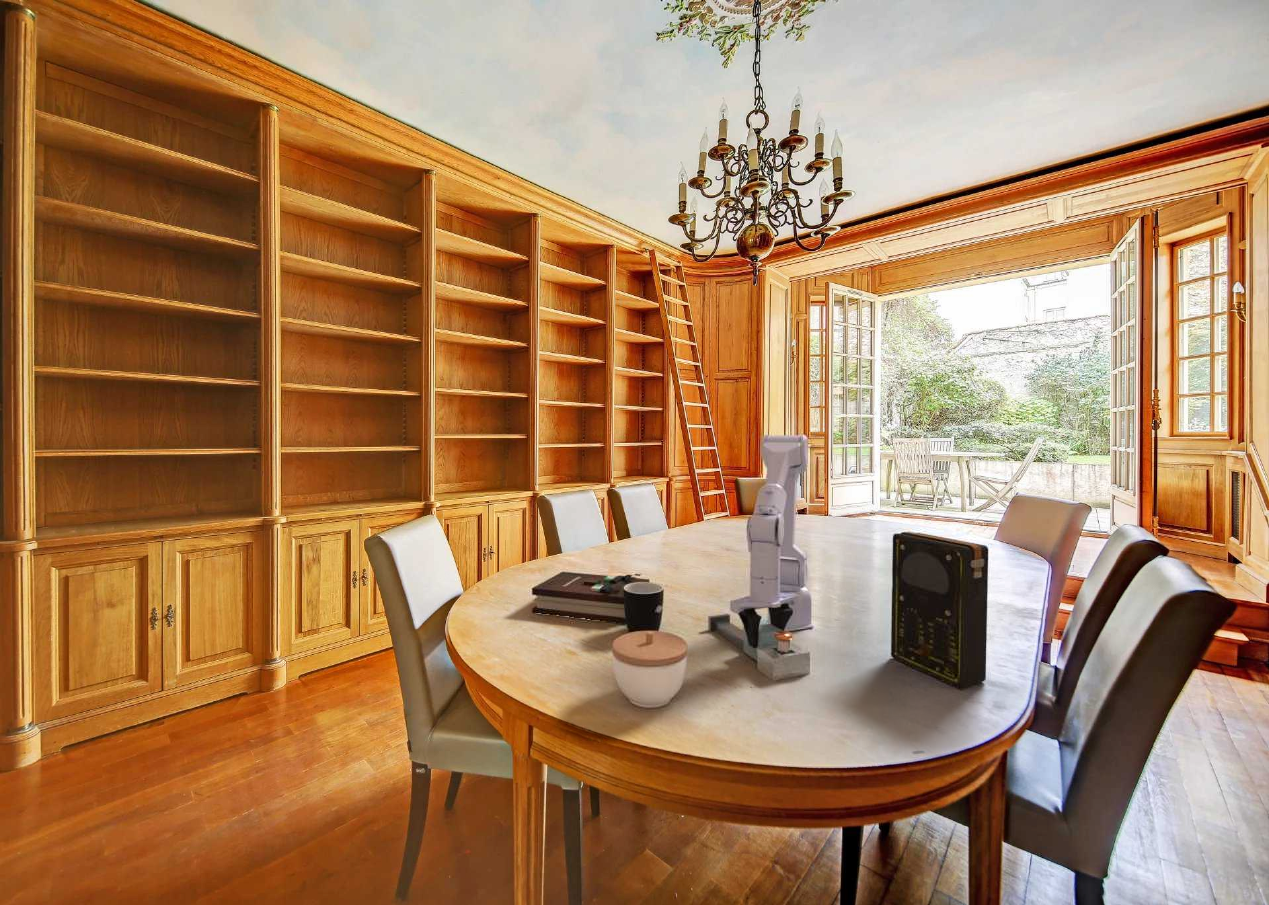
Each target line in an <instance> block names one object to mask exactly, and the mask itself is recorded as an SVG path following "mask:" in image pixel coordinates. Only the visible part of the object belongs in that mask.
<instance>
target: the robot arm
mask: <svg viewBox="0 0 1269 905" xmlns="http://www.w3.org/2000/svg"><path fill="white" fill-rule="evenodd" d="M760 455H761V459H762V461H763V464H764V466H765V467H766V477H765V478H766V479H765V484H764V485H762V486H761V487H760V488H759V489H758V493H757V497H756V502H755V505H754V510H753V515H752V516H748V519H747V521H746V541H747V550H748V553H749V561H750V562H749V594H748V595H746V596H743V597H739V598H738V599H737V598H736V599H732V600H730V601H729V602H730V603H729V604H730V605H729V607H730V608H729V611H731V613H734V614H737V615H738V616H739V619H740V621H741V622H742V625H743V629H744V628H745V631H746V635H747V639H748V644H749V645H750V646H751V647H753V648H757V646H758V630H759V624H760V621H762V620H765V621H766V622H768V623H770V624H772V625H774V626H775V627H777V628H779V629H781V630H782V631H788V632H792V631H793V632H794V631H799V630H800V631H801V630H805V629H811V628H814V624H812V597H811V593H810V591H809V589H808V588H807V587H806V585H807V583H808V582H807V581H808V563H807V562H808V556H807V554H806V553H805V552H804V550H802V549H801V548H799V547H798V546H797V545H796V523H797V522H796V519H797V518H796V516H797V490H798V481H799V476H800V474H803V473H805V472H806V471H807V468H808V467H809V466H808V464H809V461H808V460H809V440H808V437H807V435H805V434H801V435H800V434H799V435H796V434H795V435H790V434H789V435H787V434H784V435H783V434H781V435H779V434H778V435H777V434H772V435H771V434H770V435H769V434H765V435H763V437H762V438H761V442H760ZM781 557H782V558H781ZM783 557H784V558H783ZM766 608H767V618H763V617H762V616H761V615H760V614H758V612H757V611H756V610H760V609H766Z"/></svg>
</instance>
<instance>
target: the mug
mask: <svg viewBox="0 0 1269 905" xmlns="http://www.w3.org/2000/svg"><path fill="white" fill-rule="evenodd" d="M664 593H665V592H664V587H663V586H662V585H661V584H658V583H656V582H650V581H649V582H637V583H631V584H628V585H626V586H624V589H623V597H624V611H625V619H626V624H627V625H626V628H627V631H628V633H631V632H637V631H660V628H661V623H662V618H663V617H662V616H663V611H664V598H665V597H664Z"/></svg>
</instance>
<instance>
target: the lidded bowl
mask: <svg viewBox="0 0 1269 905" xmlns="http://www.w3.org/2000/svg"><path fill="white" fill-rule="evenodd" d="M611 649H612V650H611V651H612V666H613V673H614V676H615V681H616V683H617V686H618V687H619V689H620V690H621V692H622V693H623V695H625V696H626V697H627V699H628V700H629V702H630V703H631V704H632V705H634V706H637V707H640V708H645V709H653V708H654V709H657V708H661V707H664V706H665V705H668V704H669V703H670V702H671V700H672V699H673V697H675V696H676V694H677V693H679V691H680V689H681V688H682V685H683V683H684V680H685V675H686V671H687V660H688V658H687V655H688V644H687V642H686V641H685V640H684V639H683V638H682V637H681V636H678V635H677V634H673V633H670V632H666V631H660V630H659V631H637V632H631V633H629V632H627V633H624V634H622V635H620V636H618V637H616V638H615V639H614V640H613V642H612V645H611Z"/></svg>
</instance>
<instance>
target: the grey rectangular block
mask: <svg viewBox="0 0 1269 905" xmlns="http://www.w3.org/2000/svg"><path fill="white" fill-rule="evenodd" d="M756 661H757V662H756V664H757V665H756V666H757V668H756V669H757V670H758V671H759V672H760V671H761V673H762V674H764V675H765V676H766V677H767V678H768V679H770V680H772V681H778V680H779V679H780V680H784V679H789V678H793V677H799V676H804V675H805V676H806V675H809V674H810V672H811V671H810V670H811V669H810V667H811V652H810V651H809V650H807V649H805V648H804V647H801V645H798V644H796V643H795V642H793V641H791V642H790V653H789V654H783V655H781V654H779V653H778V652H777V645H774V646H768V647H763V648H757V660H756Z"/></svg>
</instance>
